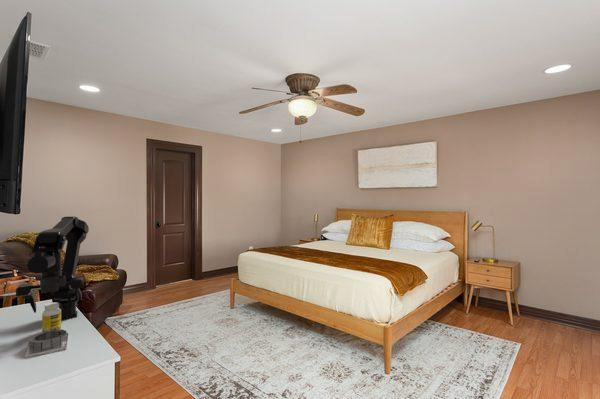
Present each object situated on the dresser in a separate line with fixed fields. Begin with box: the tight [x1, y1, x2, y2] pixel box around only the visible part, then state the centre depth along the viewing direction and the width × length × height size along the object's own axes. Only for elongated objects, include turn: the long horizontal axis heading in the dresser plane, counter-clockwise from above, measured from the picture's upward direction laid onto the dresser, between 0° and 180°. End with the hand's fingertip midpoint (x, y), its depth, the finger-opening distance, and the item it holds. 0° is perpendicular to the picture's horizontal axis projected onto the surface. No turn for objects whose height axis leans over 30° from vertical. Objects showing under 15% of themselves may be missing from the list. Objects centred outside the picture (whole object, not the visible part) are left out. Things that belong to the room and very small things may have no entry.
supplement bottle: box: [41, 302, 62, 332], centre depth 114 cm, size 5×5×10 cm
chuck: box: [24, 328, 69, 359], centre depth 104 cm, size 12×10×3 cm
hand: (51, 309), depth 115 cm, fingers open, 9 cm apart
